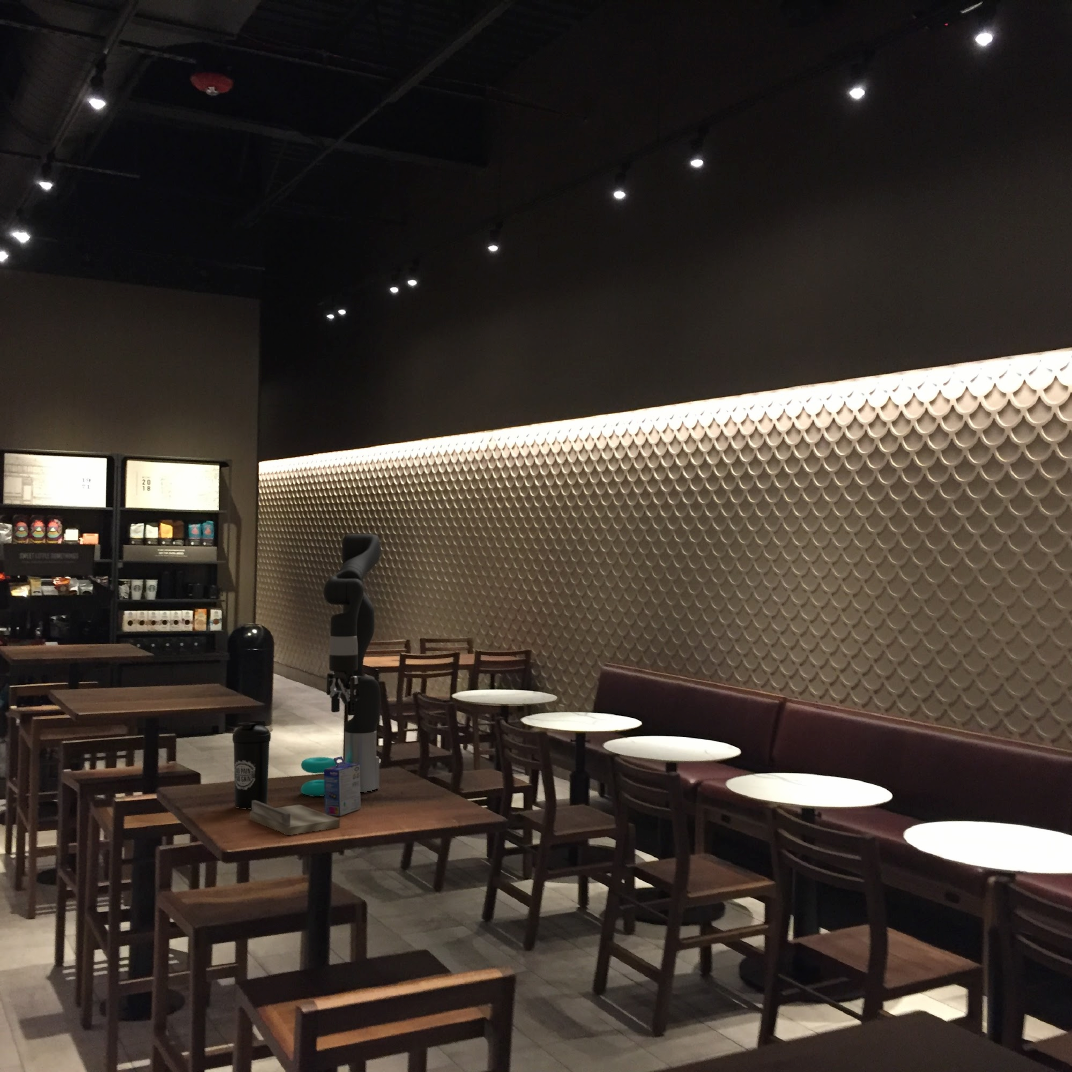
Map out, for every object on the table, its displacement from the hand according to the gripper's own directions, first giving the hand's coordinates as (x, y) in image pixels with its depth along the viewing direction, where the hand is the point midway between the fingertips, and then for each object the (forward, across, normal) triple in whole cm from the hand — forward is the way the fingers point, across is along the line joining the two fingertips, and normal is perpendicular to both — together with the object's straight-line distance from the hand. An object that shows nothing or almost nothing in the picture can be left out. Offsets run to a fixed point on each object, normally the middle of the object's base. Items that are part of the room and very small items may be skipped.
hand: (343, 713), depth 287 cm
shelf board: (+26, -4, +16) cm, 31 cm away
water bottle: (+26, +22, +16) cm, 38 cm away
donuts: (+26, +25, -6) cm, 37 cm away
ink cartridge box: (+26, 0, 0) cm, 26 cm away
